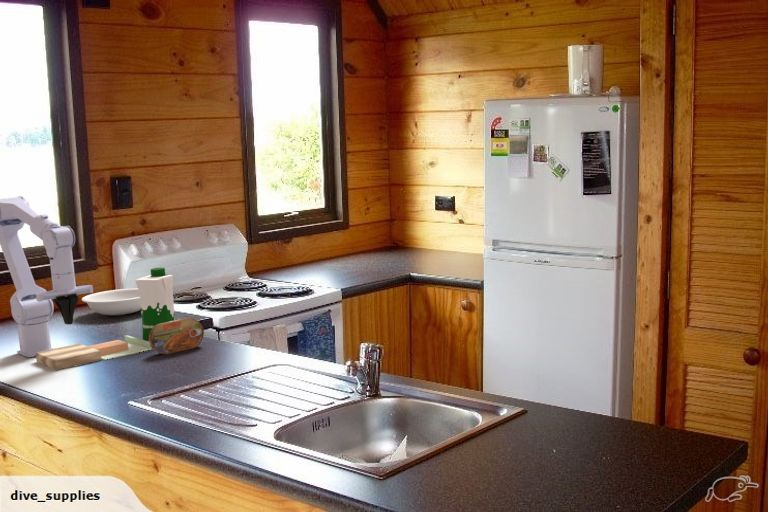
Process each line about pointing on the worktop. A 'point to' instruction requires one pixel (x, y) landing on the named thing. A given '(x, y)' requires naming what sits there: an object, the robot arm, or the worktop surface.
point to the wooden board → (68, 356)
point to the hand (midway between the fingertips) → (68, 323)
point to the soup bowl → (114, 301)
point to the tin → (176, 335)
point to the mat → (130, 348)
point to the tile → (111, 347)
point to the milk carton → (155, 299)
